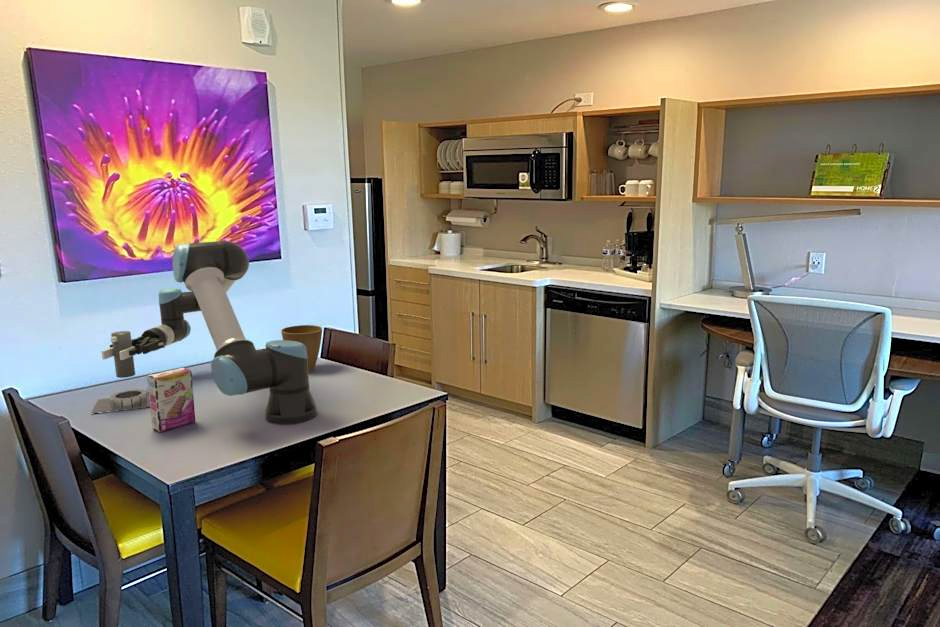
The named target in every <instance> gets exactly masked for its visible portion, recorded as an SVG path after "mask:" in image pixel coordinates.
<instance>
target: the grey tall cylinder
mask: <svg viewBox="0 0 940 627" xmlns="http://www.w3.org/2000/svg"><path fill="white" fill-rule="evenodd" d="M110 336H111V337H110V342H111V345H113V353H114V356H113V359H114V369H115V376H116V378H117V379H118V378H119V379H124V378H130V377H134V376H135V375H136V368H135V358H134V356H131V357H129V358H126V359H124V360H120V354H119V352H120V351H122V350H125V349H128V348H130V347H132V341H131V340H132V335H131V331H129V330H124V331H123V330H121V331H114V332H112V333H111V335H110Z"/></svg>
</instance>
